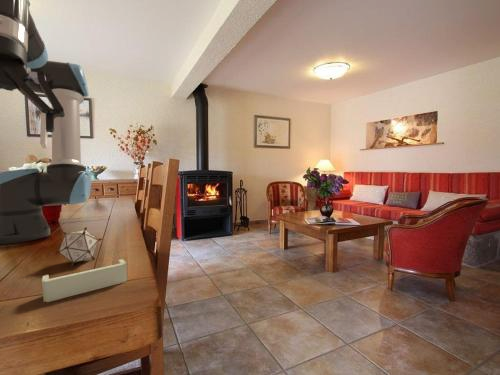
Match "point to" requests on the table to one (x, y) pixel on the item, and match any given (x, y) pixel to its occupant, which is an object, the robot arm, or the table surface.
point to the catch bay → (83, 281)
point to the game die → (78, 246)
